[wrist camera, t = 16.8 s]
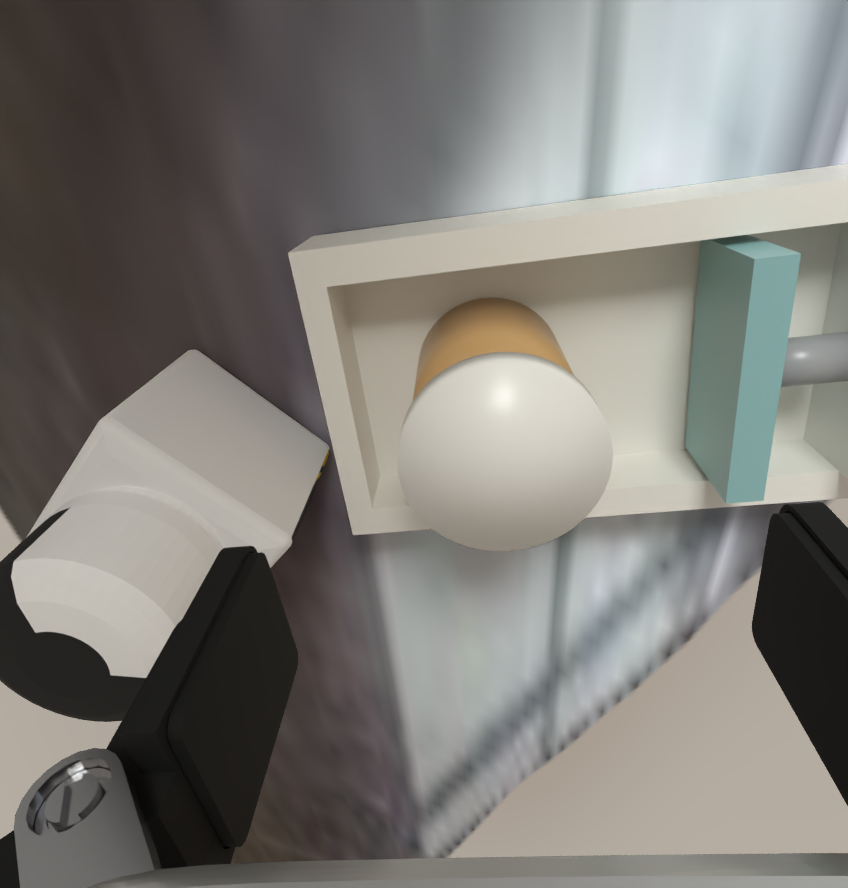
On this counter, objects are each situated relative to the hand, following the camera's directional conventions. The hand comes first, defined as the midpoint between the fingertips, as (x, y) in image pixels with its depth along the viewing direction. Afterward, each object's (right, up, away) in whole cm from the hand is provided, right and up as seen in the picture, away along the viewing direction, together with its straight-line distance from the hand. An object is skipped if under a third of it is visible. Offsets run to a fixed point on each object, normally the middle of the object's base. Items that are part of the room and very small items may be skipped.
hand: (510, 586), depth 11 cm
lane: (+4, +6, +12) cm, 14 cm away
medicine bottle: (-10, +2, +15) cm, 19 cm away
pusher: (+10, +6, +10) cm, 16 cm away
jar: (+1, +6, +12) cm, 13 cm away
